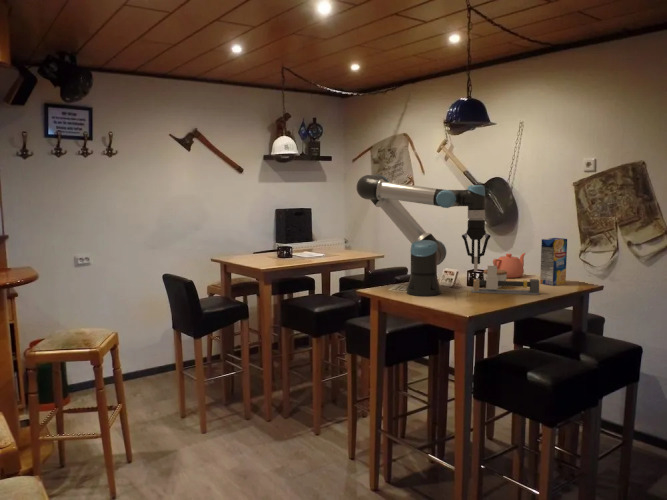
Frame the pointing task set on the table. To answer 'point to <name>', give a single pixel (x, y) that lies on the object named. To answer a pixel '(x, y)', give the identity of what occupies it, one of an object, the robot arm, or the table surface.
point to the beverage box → (553, 261)
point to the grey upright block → (492, 278)
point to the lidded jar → (498, 275)
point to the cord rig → (532, 284)
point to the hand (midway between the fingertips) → (475, 271)
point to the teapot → (510, 265)
